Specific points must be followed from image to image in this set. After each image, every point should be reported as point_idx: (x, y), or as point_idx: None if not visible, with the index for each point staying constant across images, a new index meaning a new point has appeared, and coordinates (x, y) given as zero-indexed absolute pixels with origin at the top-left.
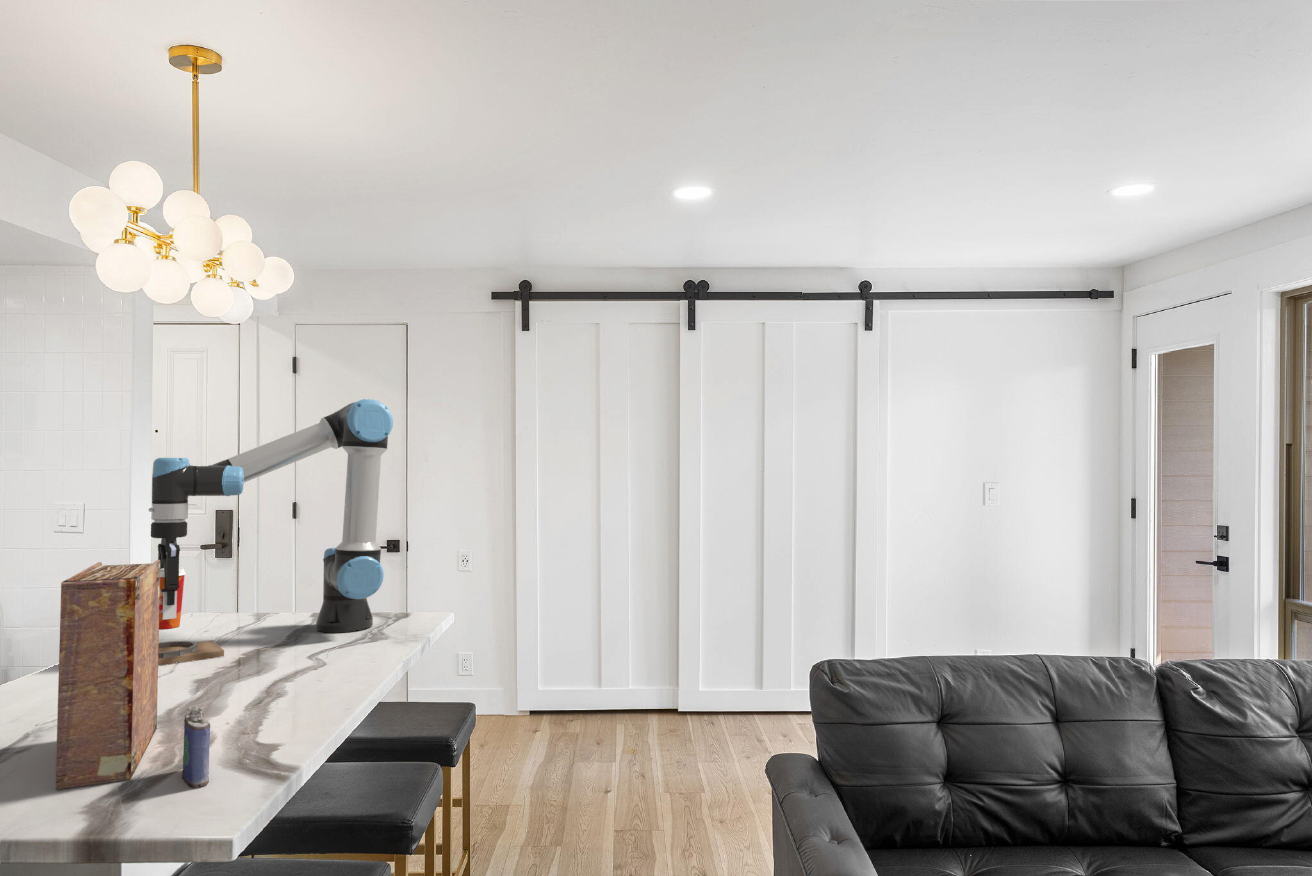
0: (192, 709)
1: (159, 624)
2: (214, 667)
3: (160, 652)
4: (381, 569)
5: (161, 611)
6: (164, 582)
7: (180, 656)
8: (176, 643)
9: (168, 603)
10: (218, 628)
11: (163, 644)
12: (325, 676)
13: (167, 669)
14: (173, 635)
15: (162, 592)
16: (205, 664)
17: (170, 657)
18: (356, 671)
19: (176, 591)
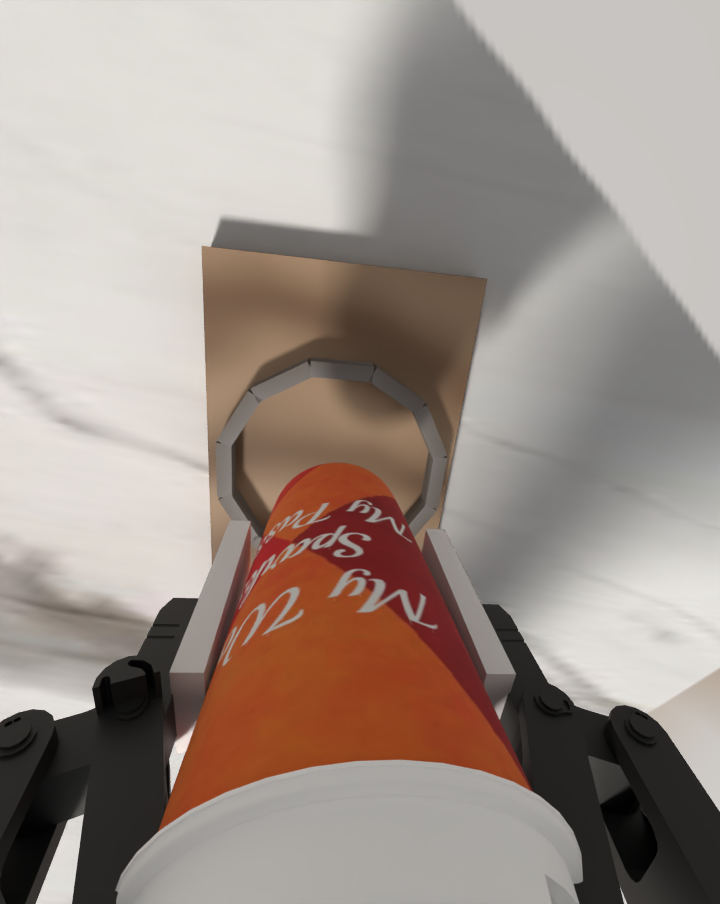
0: None
1: (282, 494)
2: (56, 544)
3: (231, 436)
4: None
5: (262, 544)
6: (160, 783)
7: (210, 489)
8: (408, 521)
9: (161, 613)
10: (669, 667)
11: (426, 482)
12: None
13: (124, 420)
14: (699, 553)
15: (219, 659)
16: (127, 533)
17: (213, 458)
18: None
19: (178, 743)
